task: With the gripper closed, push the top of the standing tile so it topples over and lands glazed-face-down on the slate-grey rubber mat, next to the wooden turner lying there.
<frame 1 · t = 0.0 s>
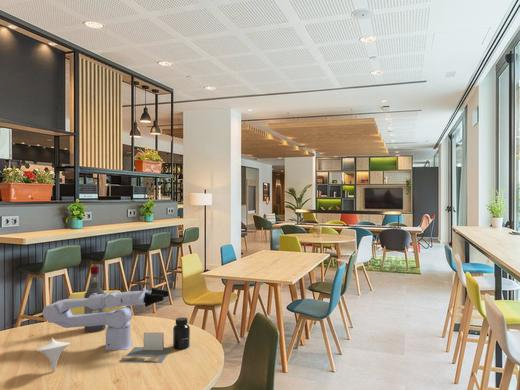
hand: (165, 295, 171), 22 cm above the table, tool horizontal, fingers open, 7 cm apart
tile: (153, 349, 167), resting on mat
liquor: (94, 329, 195), on the table
white spinning top: (53, 372, 147), on the table
supplement bottle: (181, 348, 170), on the table
mat: (147, 355, 162), on the table
turner: (140, 360, 156), resting on mat
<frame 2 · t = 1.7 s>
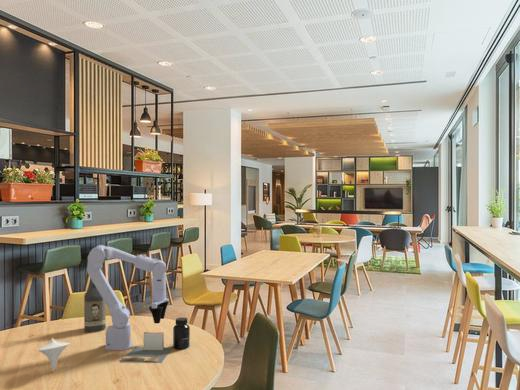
hand: (159, 320, 175), 10 cm above the table, tool pointing down, fingers open, 6 cm apart
nothing on the table moved.
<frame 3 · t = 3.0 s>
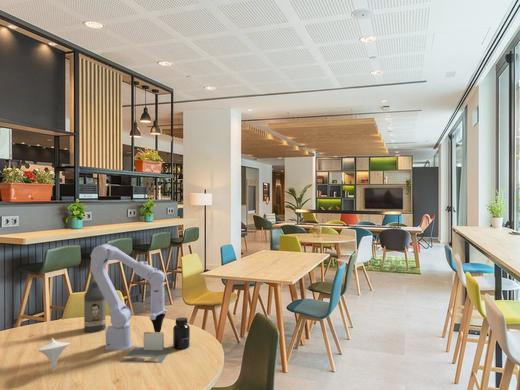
hand: (157, 331, 172), 6 cm above the table, tool pointing down, fingers closed
nothing on the table moved.
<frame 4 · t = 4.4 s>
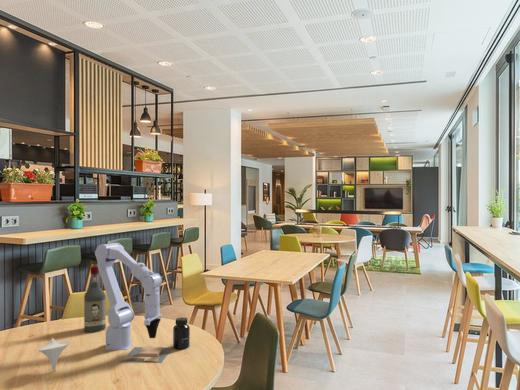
hand: (152, 337, 165), 6 cm above the table, tool pointing down, fingers closed
tile: (153, 348, 166), point 1 cm above the table, tilted 90°, touching mat
everything else where it was.
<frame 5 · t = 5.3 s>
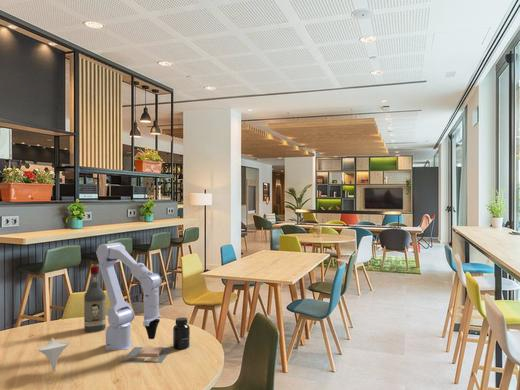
hand: (151, 338, 164), 6 cm above the table, tool pointing down, fingers closed
nothing on the table moved.
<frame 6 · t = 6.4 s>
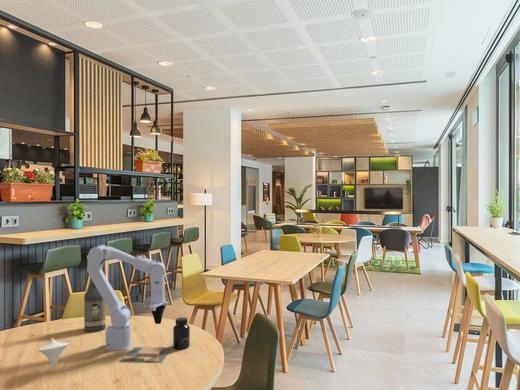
hand: (158, 323, 173), 9 cm above the table, tool pointing down, fingers closed
nothing on the table moved.
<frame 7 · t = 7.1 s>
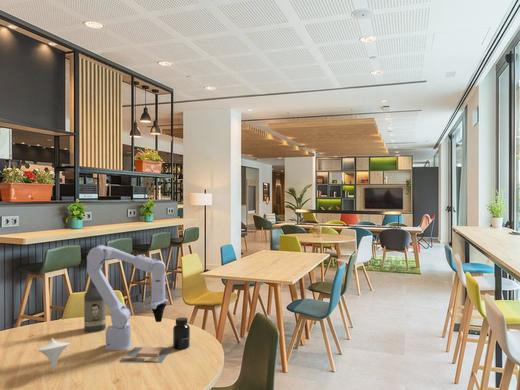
hand: (158, 321, 174), 10 cm above the table, tool pointing down, fingers closed
nothing on the table moved.
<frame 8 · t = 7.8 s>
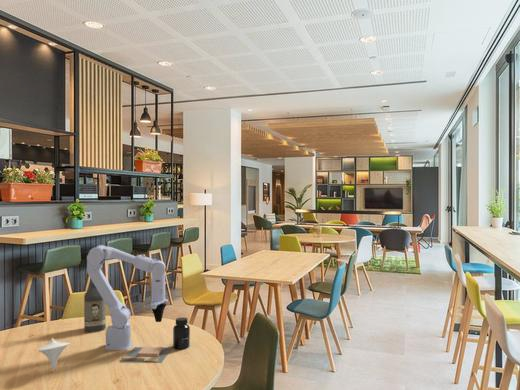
hand: (158, 321, 174), 10 cm above the table, tool pointing down, fingers closed
nothing on the table moved.
at the end: tile tilted 90°; tile inside the target area (4.8 cm from its centre), point 1.1 cm above the table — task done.
